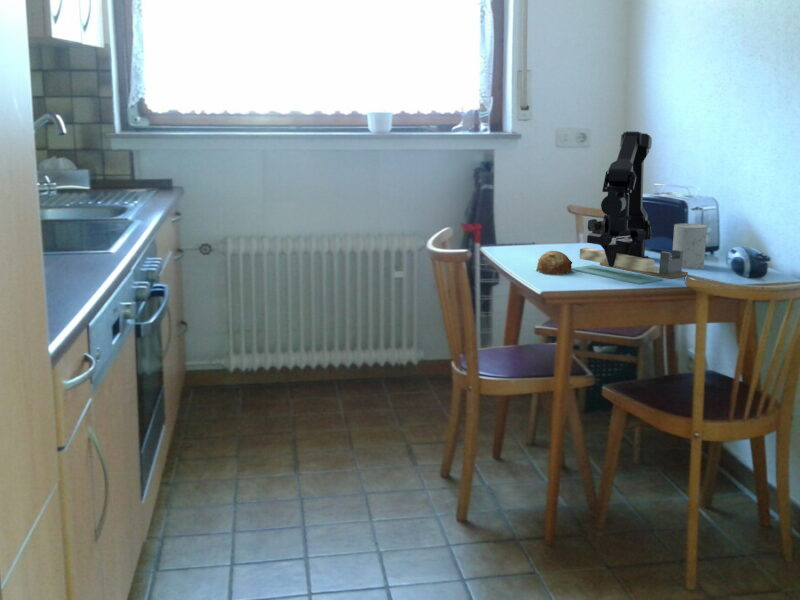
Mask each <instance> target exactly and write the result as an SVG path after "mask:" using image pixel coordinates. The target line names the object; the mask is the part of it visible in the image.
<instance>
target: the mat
mask: <svg viewBox="0 0 800 600" xmlns="http://www.w3.org/2000/svg"><path fill="white" fill-rule="evenodd" d="M571 271H575V272H580V273H583V274H584V273H585V274H589V275H593V276H598V277H602V278H603V277H604V278H607V279H612V280H617V281H623V282H626V283H632V284H636V285H641V284H642V285H643V284H647V283H653V282H658V281H663V280H664V278H663V277H657V276H652V275H647V274H642V273H637V272H632V271H627V270H622V269H617V268H612V267H607V266H602V265H595V264H590V265H589V264H588V265H582V266H581V265H580V266H576V267H572V268H571Z"/></svg>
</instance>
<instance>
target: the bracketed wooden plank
mask: <svg viewBox="0 0 800 600" xmlns="http://www.w3.org/2000/svg"><path fill="white" fill-rule="evenodd" d="M682 258H683V251H679V250H673V249H672V250H671V252H669V251H660V257H659V259H660V260H659V266H656V265H654V271H649V272H645V271H639V270H634V269H629V268H624V267H619V266H614V265H613V267H610V266H609V264H604V263H599V266H602V267H607V268H612V269H617V270H622V271H627V272H632V273H637V274H642V275H647V276H652V277H657V278H662V279H668V280H671V279H672V280H673V279H676V278H677V279H678V278H682V277H687V276H686V275H689V272H688V271H683V268H682Z"/></svg>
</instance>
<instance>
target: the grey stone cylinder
mask: <svg viewBox="0 0 800 600" xmlns="http://www.w3.org/2000/svg"><path fill="white" fill-rule="evenodd" d="M707 232H708V225H706V224H699V223H688V222H687V223H686V222H685V223H675V224H673V238H672V239H673V240H672V250H679V251H683V258H682V269H685V270H686V269H687V270H698V269H704V268H705V260H706V259H705V256H706V246H707V245H706V243H707Z"/></svg>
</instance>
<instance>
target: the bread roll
mask: <svg viewBox="0 0 800 600" xmlns="http://www.w3.org/2000/svg"><path fill="white" fill-rule="evenodd" d="M572 264H573V262H572V261H571V260H570V258H569V257H568V256H567V255H566V254H565V253H563V252H562V251H558V250H547V251H546V252H544V253H542V255H540V257H539V258H538V261H537V267H536V269H535V271H537V272H539V273H542V274H545V275H565V274H568V273H571V271H572V270H571V268H573V267H572Z"/></svg>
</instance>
